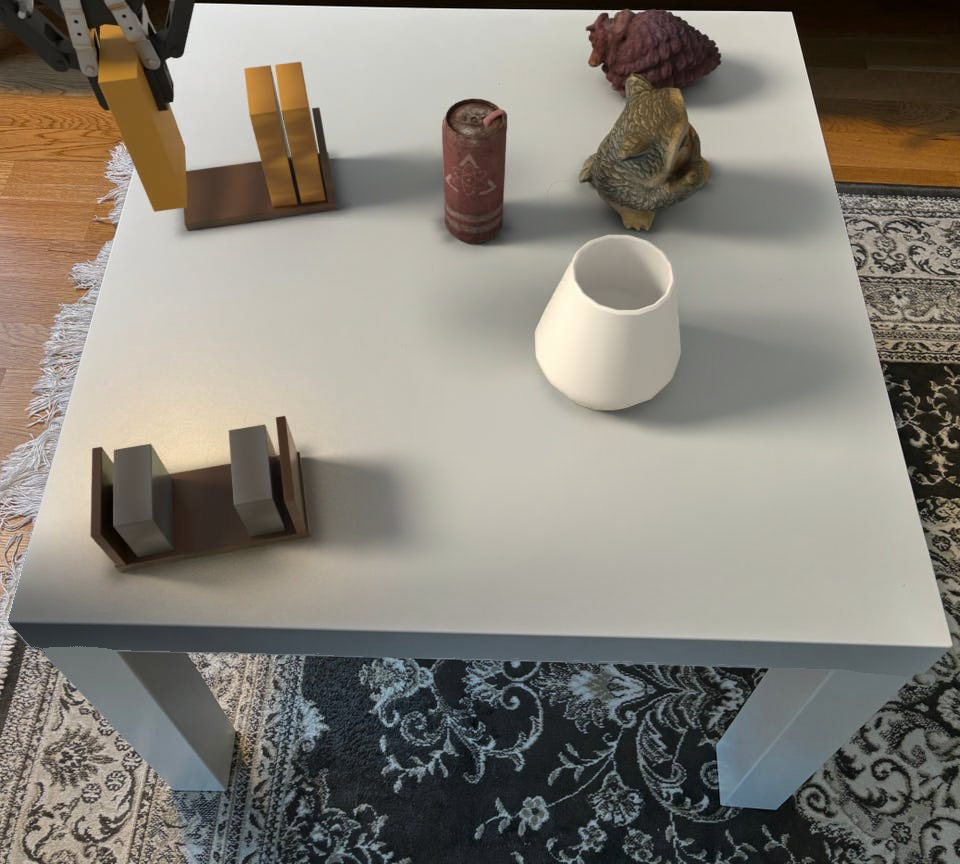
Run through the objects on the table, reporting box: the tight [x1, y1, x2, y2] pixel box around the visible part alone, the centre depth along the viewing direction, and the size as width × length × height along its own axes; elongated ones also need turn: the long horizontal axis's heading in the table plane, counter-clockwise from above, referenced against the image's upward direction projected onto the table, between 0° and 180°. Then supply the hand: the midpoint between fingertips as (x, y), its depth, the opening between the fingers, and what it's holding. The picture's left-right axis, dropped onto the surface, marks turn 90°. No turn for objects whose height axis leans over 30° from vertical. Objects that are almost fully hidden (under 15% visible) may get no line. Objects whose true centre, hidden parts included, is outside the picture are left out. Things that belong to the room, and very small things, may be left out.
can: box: [441, 98, 508, 245], centre depth 88 cm, size 6×6×14 cm
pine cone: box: [585, 8, 722, 99], centre depth 103 cm, size 18×10×10 cm
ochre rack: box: [183, 61, 339, 231], centre depth 91 cm, size 16×8×13 cm, turn 102°
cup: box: [534, 234, 682, 411], centre depth 79 cm, size 13×13×14 cm
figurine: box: [578, 74, 711, 232], centre depth 90 cm, size 14×15×15 cm
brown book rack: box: [89, 415, 312, 573], centre depth 74 cm, size 16×8×7 cm, turn 102°
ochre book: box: [98, 24, 187, 213], centre depth 66 cm, size 3×7×12 cm, turn 11°
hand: (141, 105), depth 66 cm, fingers closed on ochre book, 2 cm apart
